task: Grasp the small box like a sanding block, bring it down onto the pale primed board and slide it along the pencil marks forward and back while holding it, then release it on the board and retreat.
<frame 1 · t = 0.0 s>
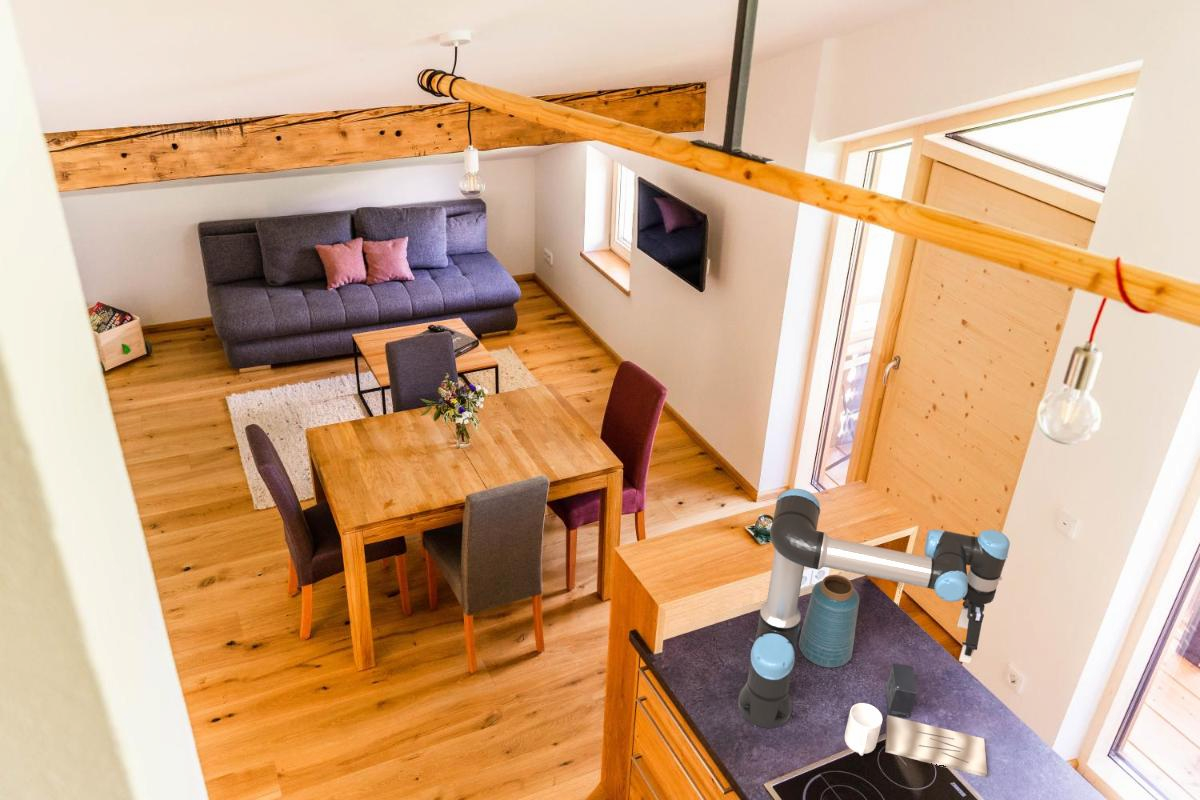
hand: (963, 643, 242), 28 cm above the worktop, fingers open, 13 cm apart
board: (934, 747, 246), on the worktop
vase: (824, 650, 277), on the worktop
mug: (859, 747, 245), on the worktop
small box: (897, 703, 259), on the worktop
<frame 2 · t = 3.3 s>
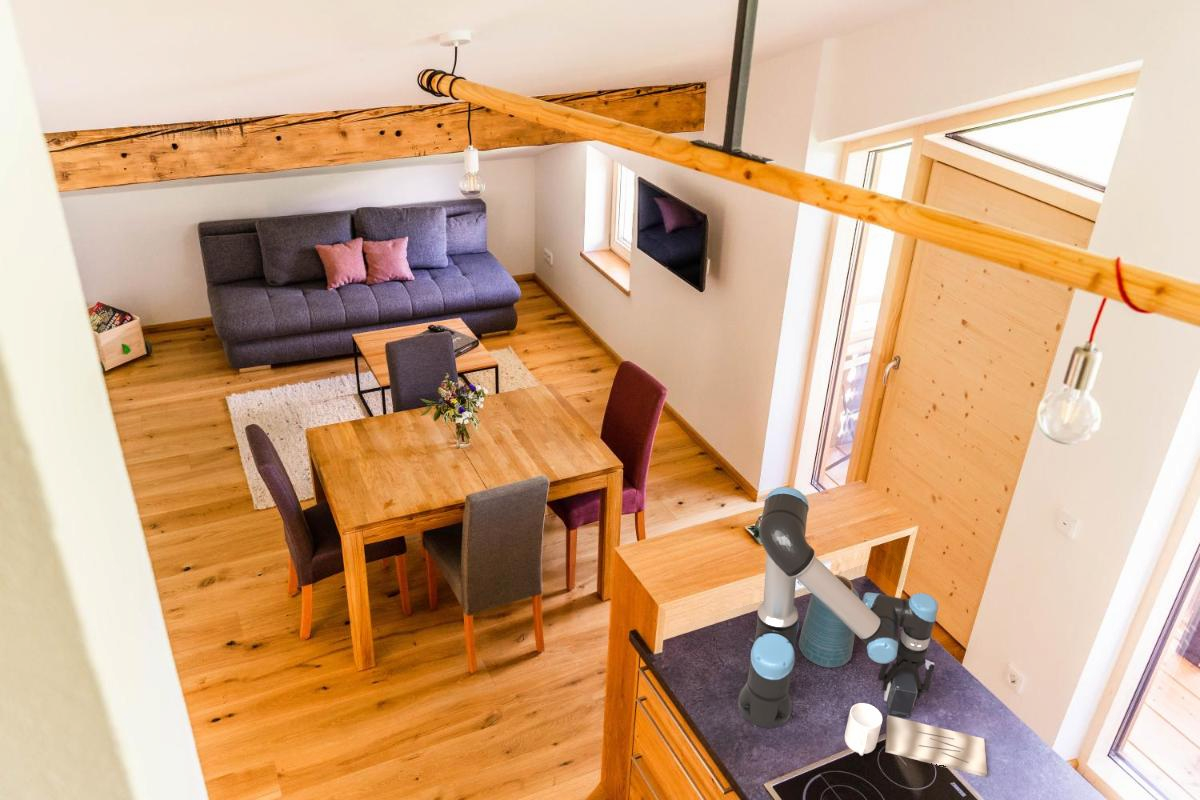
hand: (898, 700, 258), 1 cm above the worktop, fingers closed on small box, 7 cm apart
small box: (897, 703, 259), on the worktop, touching gripper
everything else where it was.
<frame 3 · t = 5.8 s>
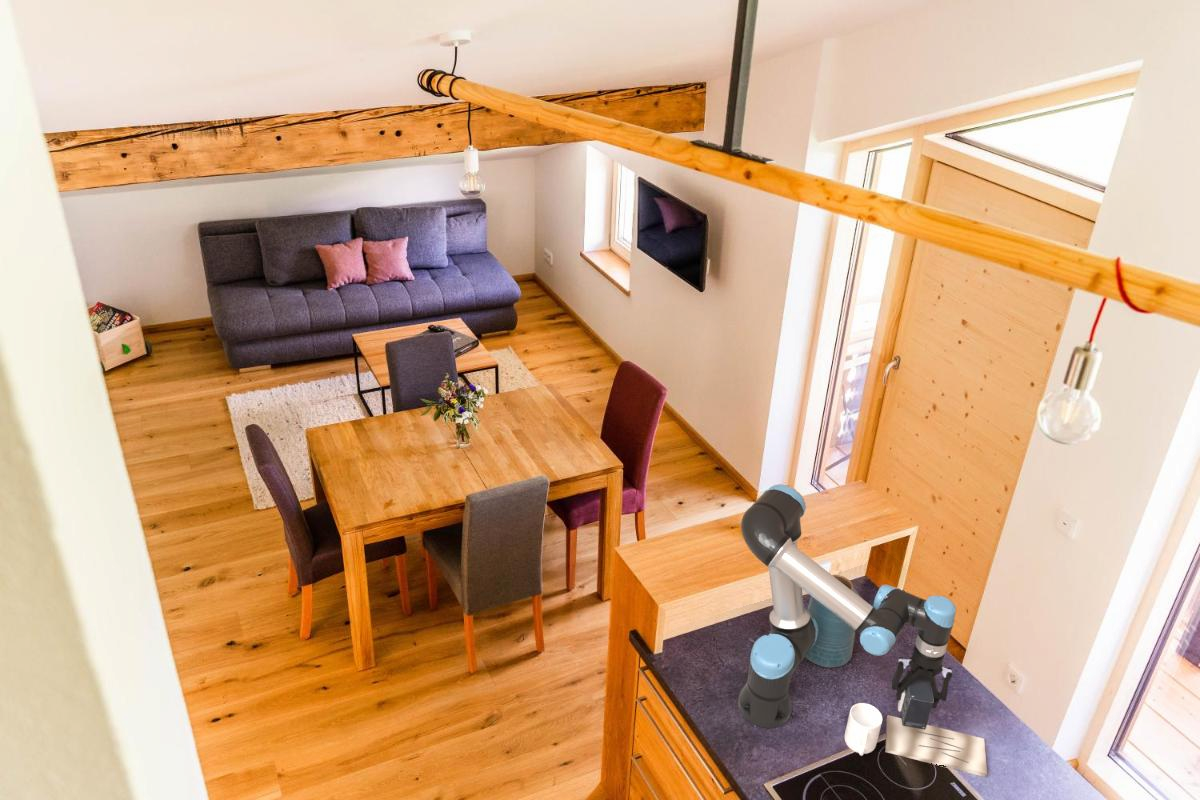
hand: (913, 710, 242), 12 cm above the worktop, fingers closed on small box, 7 cm apart
small box: (912, 714, 242), point 10 cm above the worktop, touching gripper
everything else where it was.
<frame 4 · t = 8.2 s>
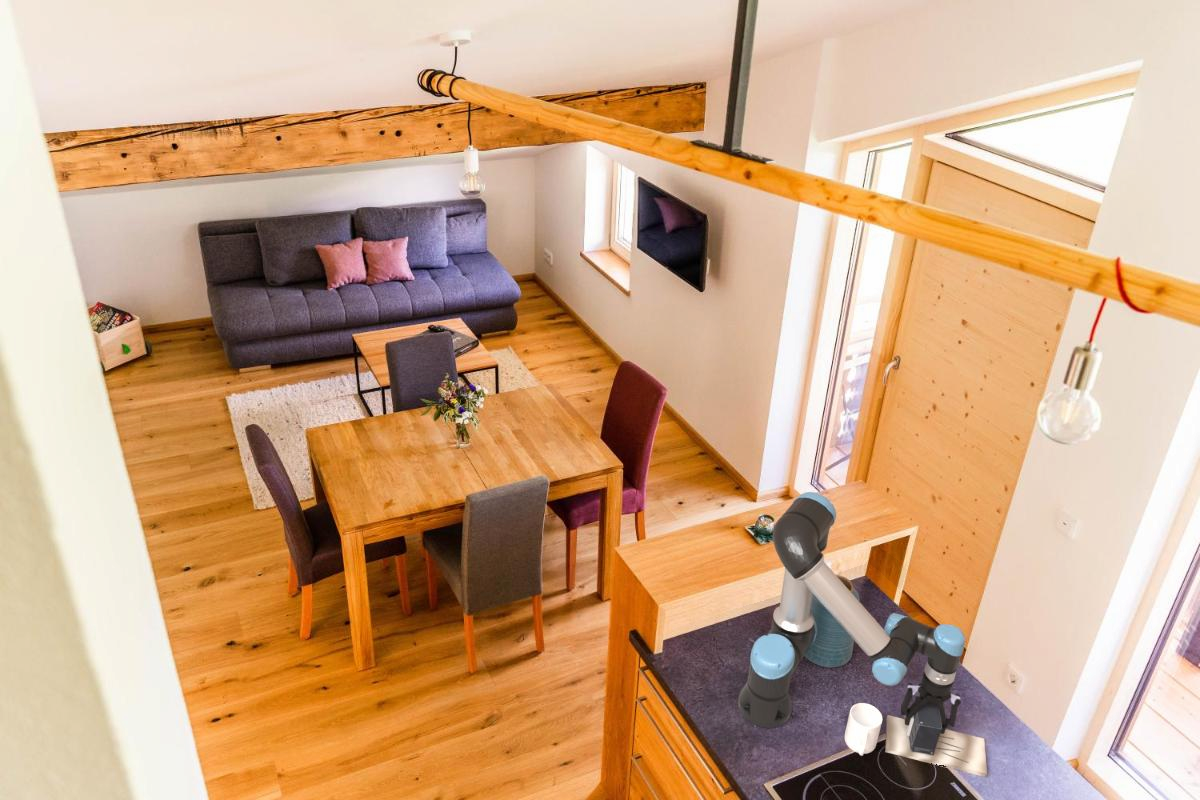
hand: (921, 735, 245), 3 cm above the worktop, fingers closed on small box, 7 cm apart
small box: (920, 738, 246), point 2 cm above the worktop, touching gripper
everything else where it was.
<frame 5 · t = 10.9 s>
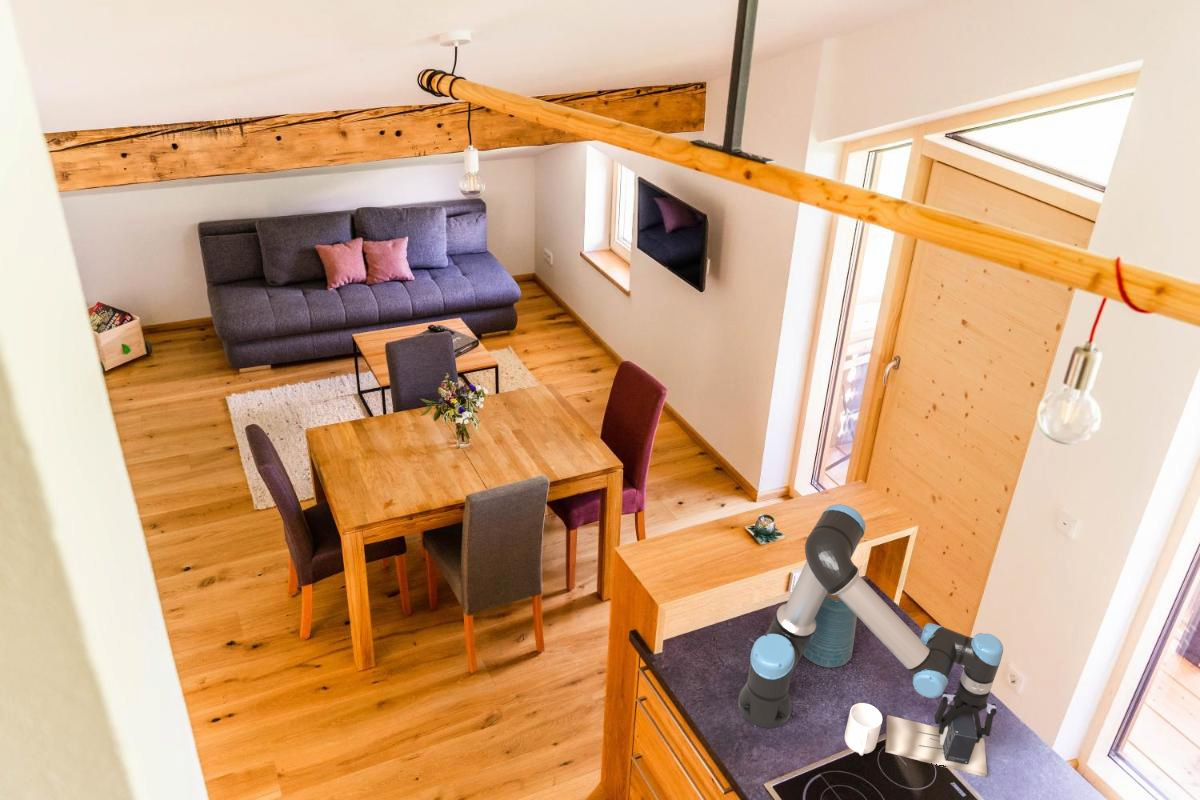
hand: (955, 744, 243), 3 cm above the worktop, fingers closed on small box, 7 cm apart
small box: (954, 747, 244), point 2 cm above the worktop, touching gripper
everything else where it was.
when the fingers open (3 cm above the worktop, at t = 13.4 s): small box stays where it is, resting on board.
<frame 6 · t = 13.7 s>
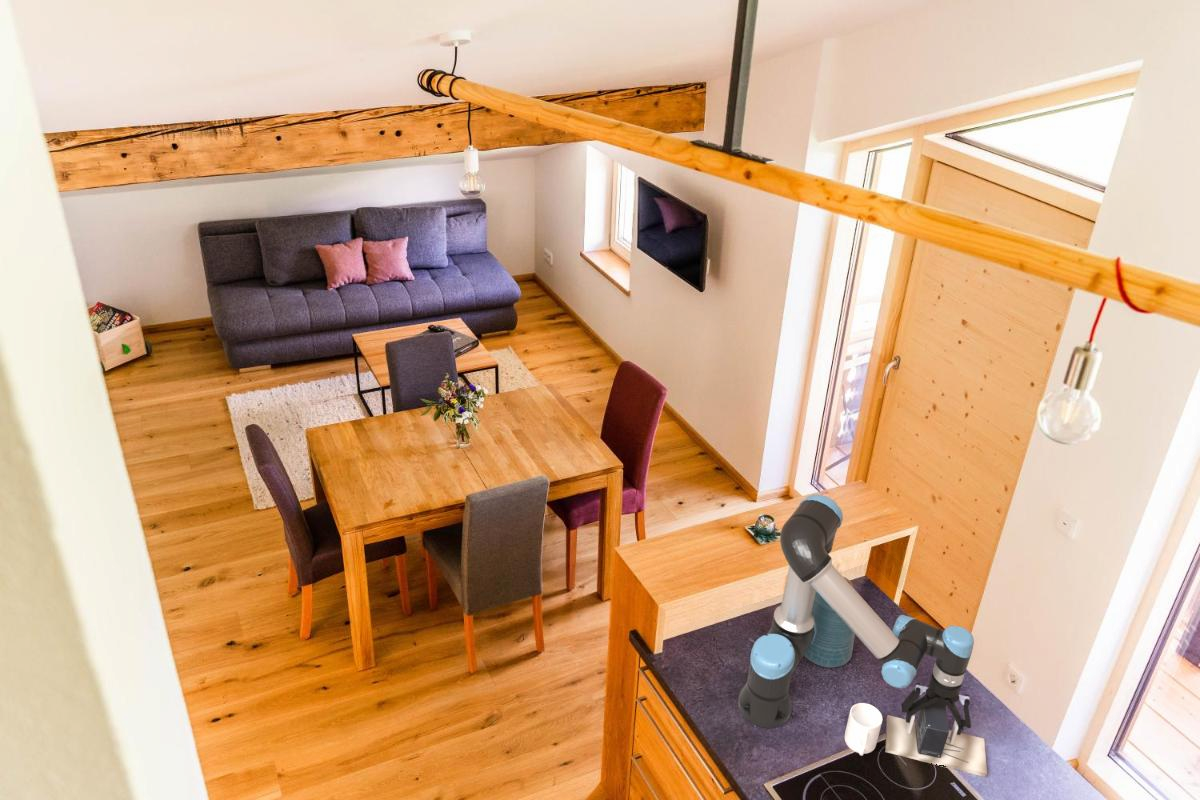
hand: (929, 735, 244), 4 cm above the worktop, fingers open, 10 cm apart
small box: (928, 741, 245), point 1 cm above the worktop, touching board
everything else where it was.
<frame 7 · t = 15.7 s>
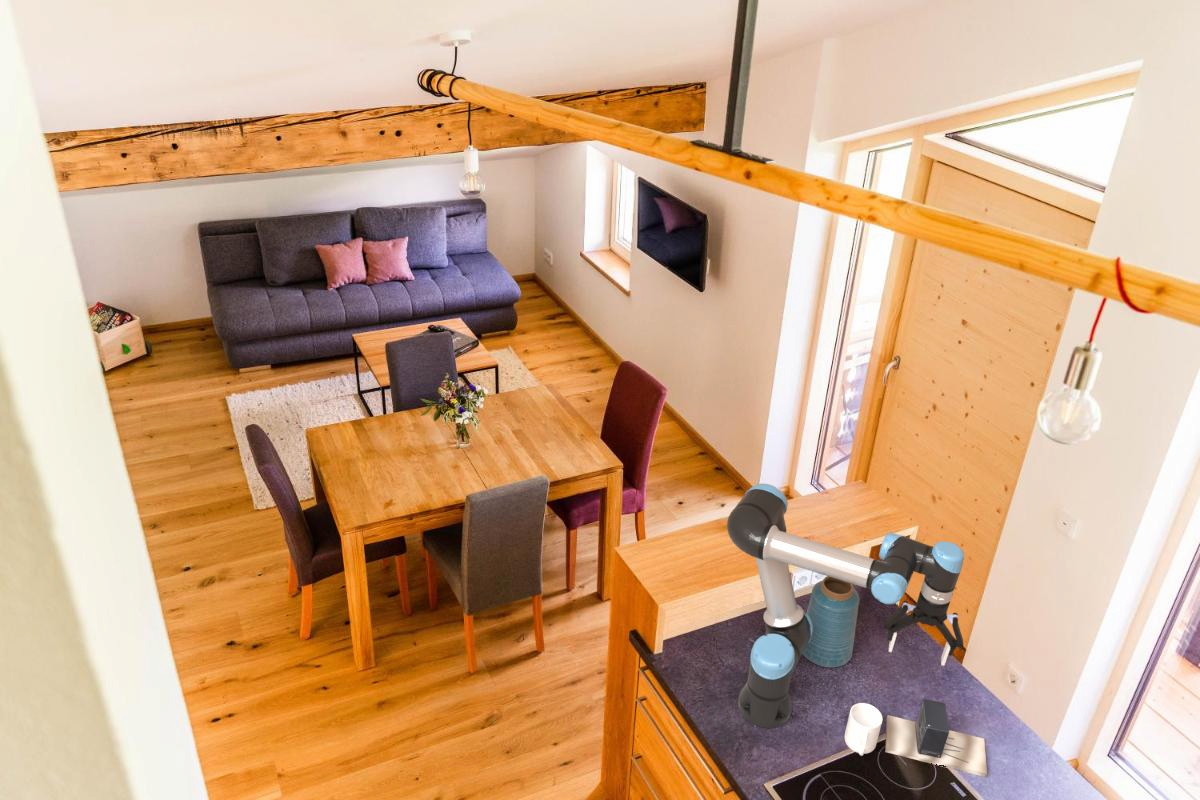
hand: (916, 655, 238), 28 cm above the worktop, fingers open, 13 cm apart
nothing on the worktop moved.
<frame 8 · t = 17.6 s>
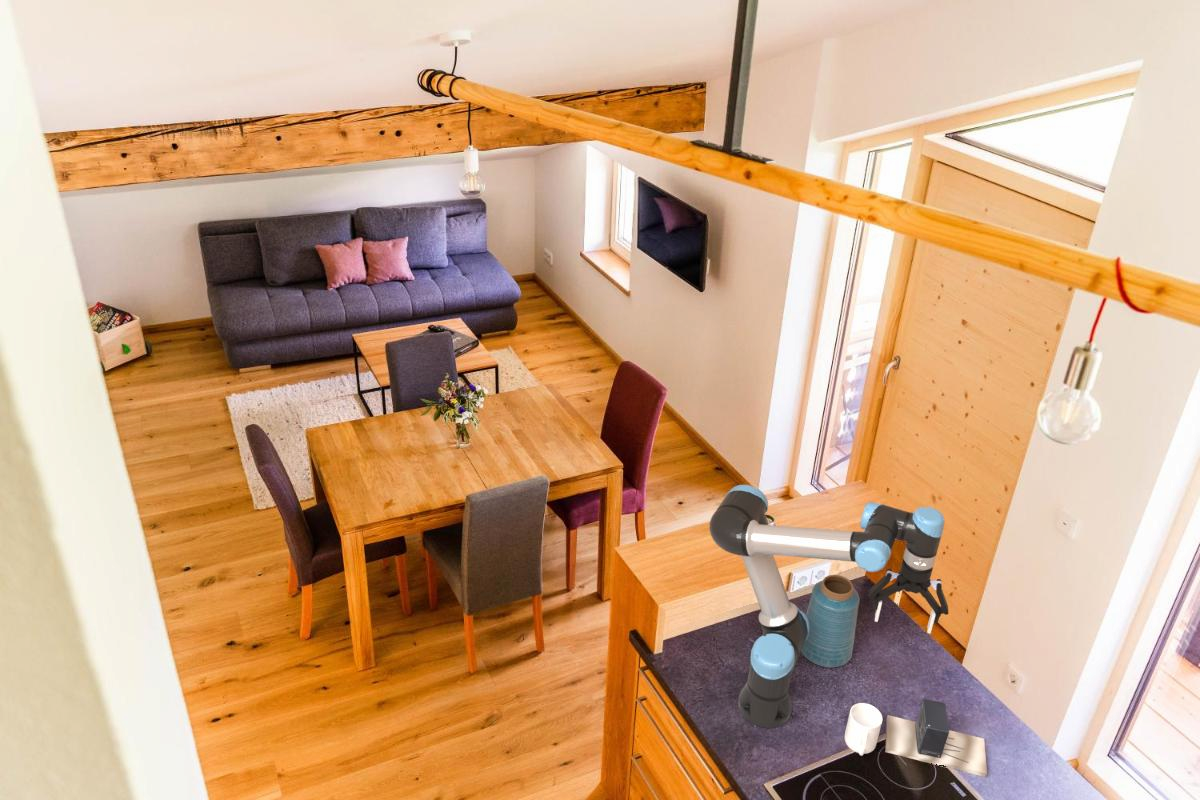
hand: (902, 624, 238), 35 cm above the worktop, fingers open, 13 cm apart
nothing on the worktop moved.
at the end: small box inside the target area (3.5 cm from its centre), point 1.4 cm above the worktop; small box tilted 0°; the gripper is holding nothing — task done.
